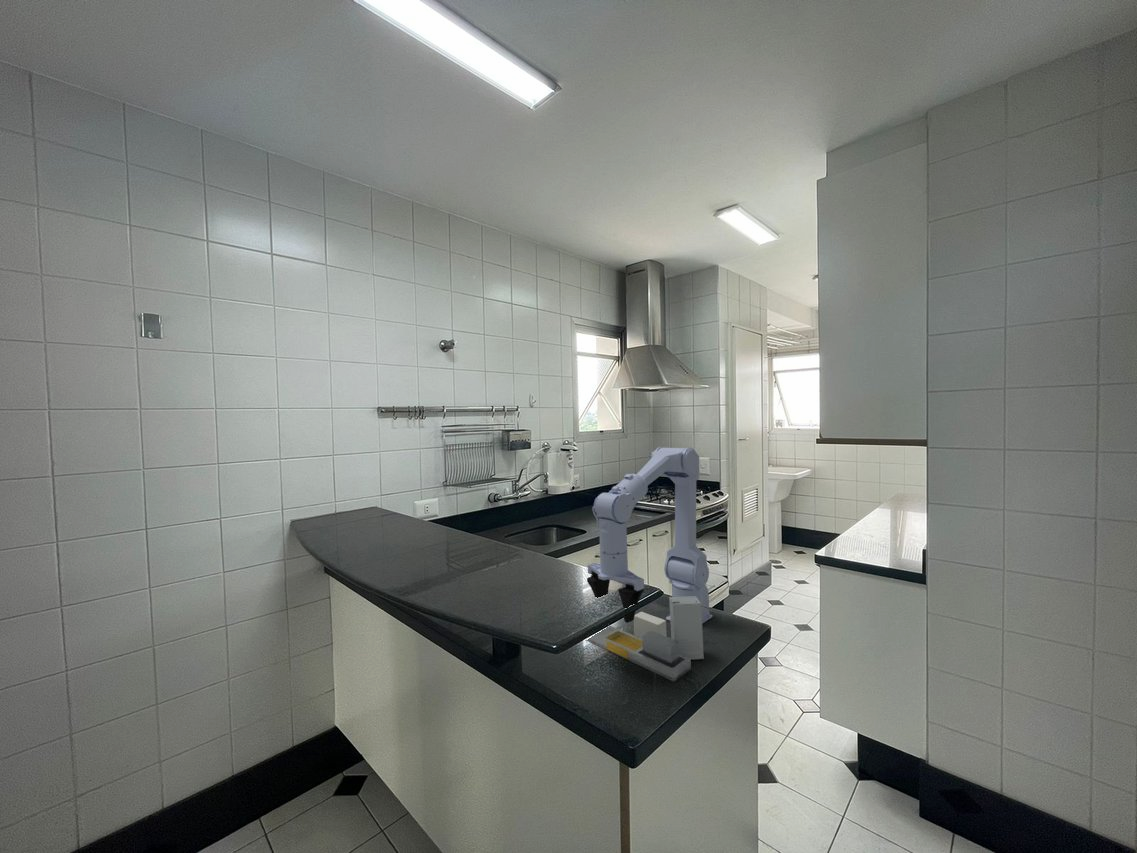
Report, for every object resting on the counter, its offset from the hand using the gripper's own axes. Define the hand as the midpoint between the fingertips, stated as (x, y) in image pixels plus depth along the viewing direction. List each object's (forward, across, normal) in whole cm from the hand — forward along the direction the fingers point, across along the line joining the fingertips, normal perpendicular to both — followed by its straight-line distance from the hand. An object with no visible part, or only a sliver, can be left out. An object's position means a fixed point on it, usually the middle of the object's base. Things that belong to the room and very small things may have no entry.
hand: (615, 615), depth 92 cm
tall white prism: (+10, -2, +13) cm, 16 cm away
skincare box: (+10, +8, +13) cm, 18 cm away
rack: (+10, -2, +5) cm, 11 cm away
